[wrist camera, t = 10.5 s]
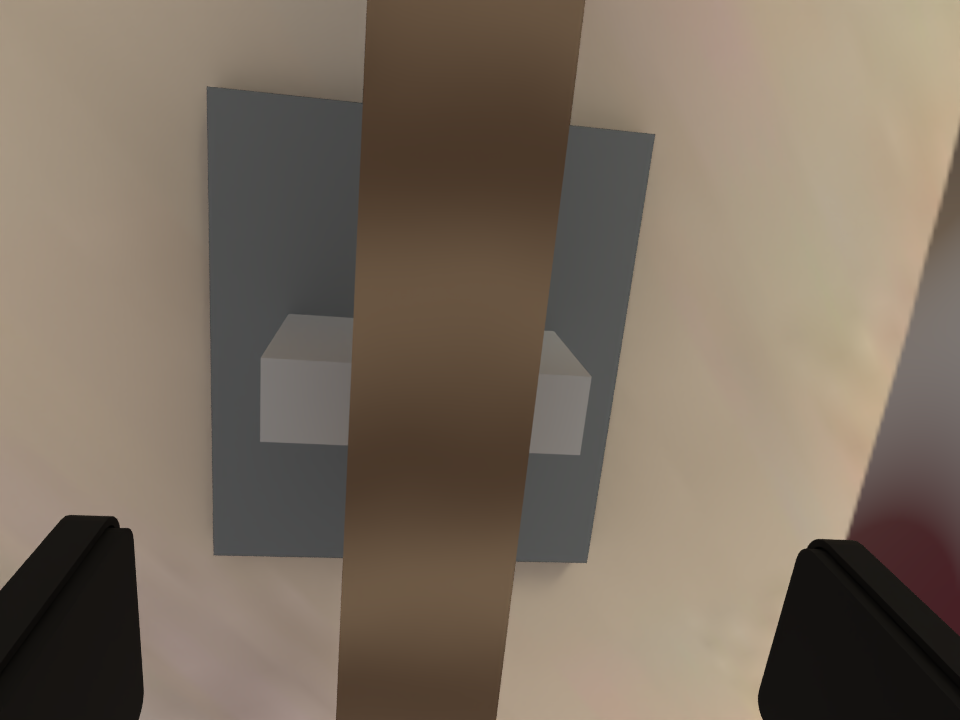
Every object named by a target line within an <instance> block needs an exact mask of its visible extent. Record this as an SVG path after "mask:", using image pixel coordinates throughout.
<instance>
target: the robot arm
mask: <svg viewBox="0 0 960 720" xmlns="http://www.w3.org/2000/svg"><path fill="white" fill-rule="evenodd" d="M143 696H144V687H143V672H142V657H141V642H140V627H139V612H138V597H137V582H136V568H135V553H134V539H133V533H132V531H131V529H129V528H120V526H119V522H118V520H117V519H116V518H115V517H114V516H84V515H68V516H65V517H64V518H63V519H61V520H60V522H59V523H58V524H57V525H56V526H55V527H54V529H53V530H52V531H51V532H50V533H49V534H48V536H47V537H46V538H45V539H44V540H43V541H42V543H41V544H40V545H39V546H38V547H37V548H36V550H35V551H34V552H33V553H32V554H31V555H30V557H29V558H28V559H27V560H26V561H25V562H24V564H23V565H22V566H21V567H20V568H19V569H18V571H17V572H16V573H15V574H14V575H13V576H12V578H11V579H10V580H9V581H8V582H7V583H6V585H5V586H4V587H3V588H2V589H1V590H0V720H138V719H139V717H140V713H141V709H142V704H143ZM758 704H759V710H760V714H761V717H762V719H763V720H960V636H959V635H958V634H956V633H955V632H954V631H953V630H952V629H951V628H950V627H949V626H948V625H947V624H946V623H945V622H944V621H943V620H941V618H939V617H938V616H937V615H936V614H935V613H934V612H933V611H932V610H931V609H930V608H929V607H928V606H927V605H926V604H925V603H923V602H922V601H921V600H920V599H919V598H918V597H917V596H916V595H915V594H914V593H913V592H912V591H911V590H910V589H909V588H908V587H906V586H905V585H904V584H903V583H902V582H901V581H900V580H899V579H898V578H897V577H896V576H895V575H894V574H893V573H892V572H890V571H889V570H888V569H887V568H886V567H885V566H884V565H883V564H882V563H881V562H880V561H879V560H878V559H876V558H875V557H874V555H872V554H871V553H870V552H869V551H868V550H867V549H866V548H865V547H864V546H863V545H861V544H860V543H858V542H857V541H853V540H831V539H816V540H814V541H812V542H811V543H810V544H809V545H808V547H807V549H803V550H801V551H800V553H799V554H798V556H797V559H796V562H795V566H794V569H793V573H792V576H791V580H790V583H789V587H788V590H787V594H786V597H785V601H784V604H783V608H782V611H781V615H780V619H779V622H778V626H777V629H776V633H775V636H774V640H773V643H772V647H771V650H770V654H769V657H768V661H767V664H766V668H765V671H764V675H763V678H762V682H761V685H760V689H759V694H758Z"/></svg>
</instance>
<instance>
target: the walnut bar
mask: <svg viewBox="0 0 960 720" xmlns="http://www.w3.org/2000/svg"><path fill="white" fill-rule="evenodd" d="M584 6H585V0H367V17H366V40H365V63H364V86H363V109H362V133H361V156H360V179H359V202H358V225H357V248H356V271H355V294H354V317H353V340H352V363H351V387H350V410H349V433H348V456H347V479H346V502H345V525H344V548H343V571H342V594H341V617H340V641H339V664H338V687H337V710H336V720H496V716H497V708H498V700H499V692H500V684H501V676H502V668H503V660H504V652H505V644H506V636H507V627H508V619H509V611H510V603H511V595H512V587H513V579H514V571H515V563H516V555H517V547H518V539H519V531H520V523H521V515H522V506H523V498H524V490H525V482H526V474H527V466H528V458H529V450H530V442H531V434H532V426H533V418H534V410H535V402H536V393H537V385H538V377H539V369H540V361H541V353H542V345H543V337H544V329H545V321H546V313H547V305H548V297H549V289H550V281H551V272H552V264H553V256H554V248H555V240H556V232H557V224H558V216H559V208H560V200H561V192H562V184H563V176H564V168H565V159H566V151H567V143H568V135H569V127H570V119H571V111H572V103H573V95H574V87H575V79H576V71H577V63H578V55H579V47H580V38H581V30H582V22H583V14H584Z"/></svg>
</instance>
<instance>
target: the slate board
mask: <svg viewBox="0 0 960 720" xmlns="http://www.w3.org/2000/svg"><path fill="white" fill-rule="evenodd" d="M362 109H363V103H357V102H348V101H339V100H329V99H320V98H310V97H301V96H292V95H282V94H273V93H264V92H254V91H245V90H236V89H226V88H217V87H208V86H207V134H208V202H209V271H210V339H211V408H212V476H213V544H214V555H226V556H275V557H324V558H343V548H344V525H345V502H346V479H347V456H348V433H349V410H350V387H351V363H352V340H353V317H354V294H355V271H356V248H357V225H358V202H359V179H360V156H361V133H362ZM654 138H655V134H647V133H638V132H628V131H619V130H610V129H600V128H591V127H582V126H572V125H570V127H569V135H568V143H567V151H566V159H565V168H564V176H563V184H562V192H561V200H560V208H559V216H558V224H557V232H556V240H555V248H554V256H553V264H552V272H551V281H550V289H549V297H548V305H547V313H546V321H545V329H544V337H543V345H542V353H541V361H540V369H539V377H538V385H537V393H536V402H535V410H534V418H533V426H532V434H531V442H530V450H529V458H528V466H527V474H526V482H525V490H524V498H523V506H522V515H521V523H520V531H519V539H518V547H517V555H516V561H518V562H566V563H587V558H588V552H589V546H590V540H591V533H592V527H593V521H594V514H595V508H596V502H597V496H598V489H599V483H600V477H601V471H602V464H603V458H604V452H605V445H606V439H607V433H608V427H609V420H610V414H611V408H612V402H613V395H614V389H615V383H616V376H617V370H618V364H619V358H620V351H621V345H622V339H623V333H624V326H625V320H626V314H627V307H628V301H629V295H630V289H631V282H632V276H633V270H634V264H635V257H636V251H637V245H638V238H639V232H640V226H641V220H642V213H643V207H644V201H645V195H646V188H647V182H648V176H649V170H650V163H651V157H652V151H653V144H654Z"/></svg>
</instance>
